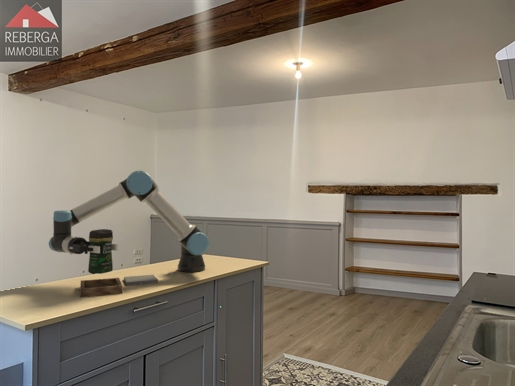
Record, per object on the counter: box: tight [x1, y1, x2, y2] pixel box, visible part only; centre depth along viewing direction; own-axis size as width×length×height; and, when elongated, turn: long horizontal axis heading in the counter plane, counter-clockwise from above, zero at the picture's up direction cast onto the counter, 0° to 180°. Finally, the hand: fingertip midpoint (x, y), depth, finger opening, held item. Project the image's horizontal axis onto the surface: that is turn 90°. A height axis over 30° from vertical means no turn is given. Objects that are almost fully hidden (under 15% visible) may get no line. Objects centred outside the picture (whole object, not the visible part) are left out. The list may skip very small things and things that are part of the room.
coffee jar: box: [87, 228, 114, 275], centre depth 164 cm, size 10×8×19 cm
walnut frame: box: [79, 277, 123, 298], centre depth 164 cm, size 16×18×3 cm
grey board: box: [123, 274, 159, 286], centre depth 182 cm, size 14×13×2 cm
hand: (108, 248), depth 162 cm, fingers closed on coffee jar, 8 cm apart
